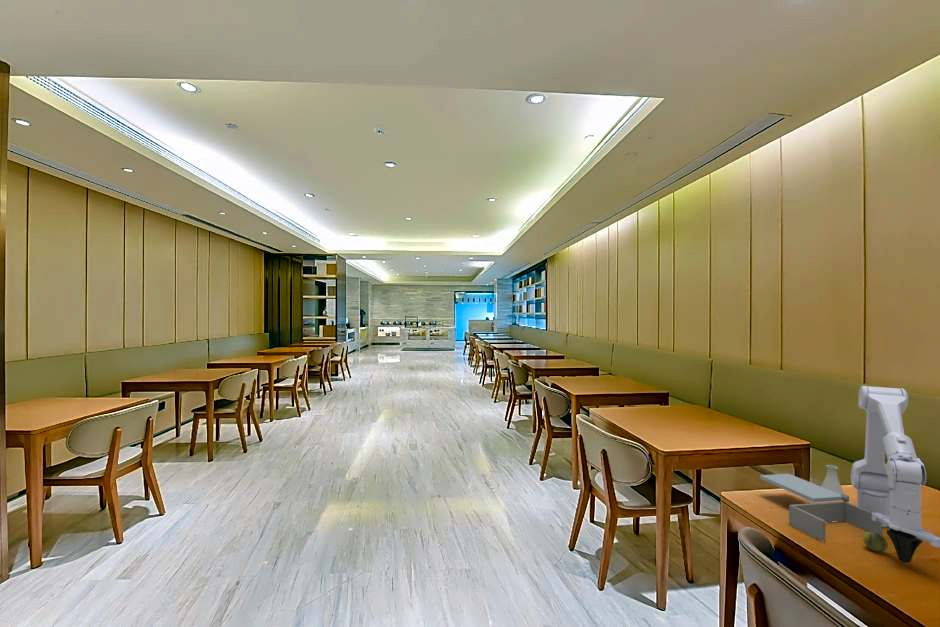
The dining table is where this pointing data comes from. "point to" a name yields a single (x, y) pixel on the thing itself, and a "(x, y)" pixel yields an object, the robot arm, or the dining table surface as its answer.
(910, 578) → the dining table surface
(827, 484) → the flask
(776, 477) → the cover
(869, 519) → the grey angular open frame
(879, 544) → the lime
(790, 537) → the dining table surface
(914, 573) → the dining table surface
